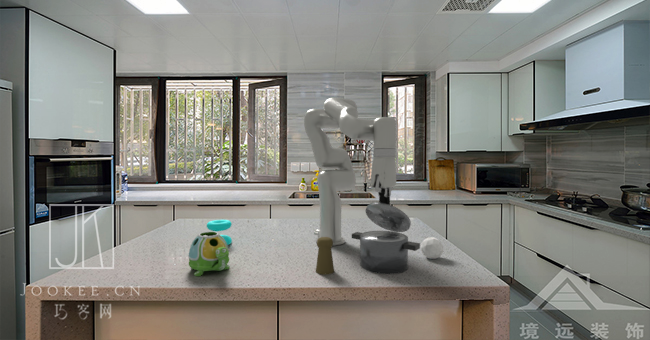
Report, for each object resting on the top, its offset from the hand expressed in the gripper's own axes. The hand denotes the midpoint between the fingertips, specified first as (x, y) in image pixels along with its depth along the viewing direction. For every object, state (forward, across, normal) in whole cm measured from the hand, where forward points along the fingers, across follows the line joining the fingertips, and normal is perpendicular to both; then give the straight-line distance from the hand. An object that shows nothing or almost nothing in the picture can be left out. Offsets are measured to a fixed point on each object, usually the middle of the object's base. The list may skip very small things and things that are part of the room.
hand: (384, 208), depth 104 cm
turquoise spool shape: (+20, +22, -66) cm, 72 cm away
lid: (+4, -2, 0) cm, 4 cm away
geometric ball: (+20, -18, +10) cm, 28 cm away
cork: (+20, +17, -12) cm, 29 cm away
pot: (+20, 0, 0) cm, 20 cm away
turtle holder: (+20, +40, -41) cm, 61 cm away
